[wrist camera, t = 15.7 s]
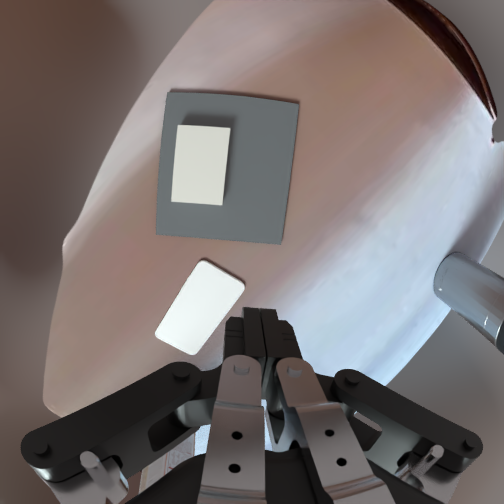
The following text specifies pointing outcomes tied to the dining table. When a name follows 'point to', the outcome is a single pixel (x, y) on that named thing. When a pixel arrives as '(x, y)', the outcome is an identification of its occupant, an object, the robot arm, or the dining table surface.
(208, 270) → the smartphone
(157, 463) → the cracker box
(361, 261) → the dining table surface
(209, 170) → the card box
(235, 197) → the mat
